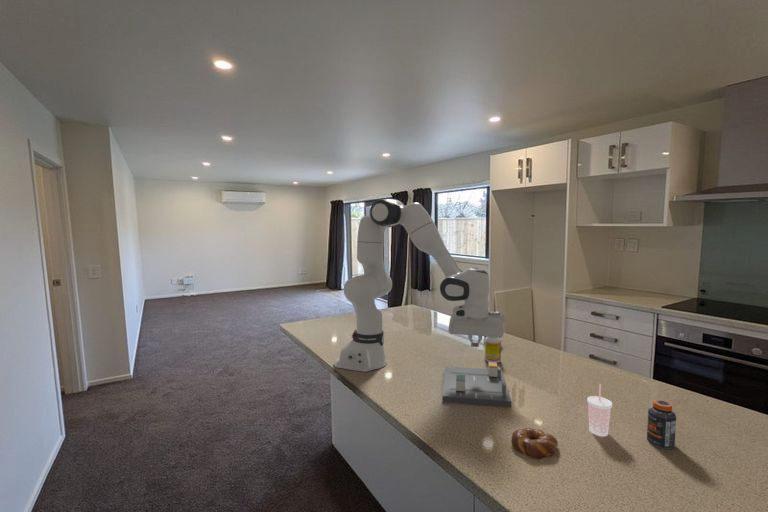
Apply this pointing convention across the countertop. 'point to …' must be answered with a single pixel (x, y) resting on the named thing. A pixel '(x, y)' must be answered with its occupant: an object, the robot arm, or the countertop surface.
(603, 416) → the beverage cup
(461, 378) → the fader
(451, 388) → the console
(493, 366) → the fader
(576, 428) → the countertop surface
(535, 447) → the pretzel
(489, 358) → the supplement bottle
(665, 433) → the pill bottle
